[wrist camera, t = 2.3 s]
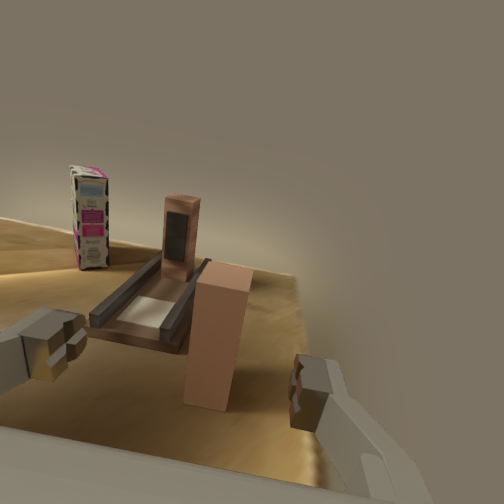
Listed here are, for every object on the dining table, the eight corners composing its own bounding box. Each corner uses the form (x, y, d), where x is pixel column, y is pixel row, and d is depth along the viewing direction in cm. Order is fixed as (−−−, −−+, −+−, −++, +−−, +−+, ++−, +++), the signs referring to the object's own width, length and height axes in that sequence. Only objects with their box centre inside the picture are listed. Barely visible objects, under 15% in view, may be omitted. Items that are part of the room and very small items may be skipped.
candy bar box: (111, 268, 49) (109, 177, 43) (79, 271, 46) (72, 174, 40) (101, 245, 57) (99, 166, 51) (73, 247, 54) (67, 163, 48)
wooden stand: (81, 335, 33) (72, 213, 27) (156, 264, 53) (160, 187, 48) (176, 354, 32) (187, 235, 27) (214, 276, 53) (225, 199, 47)
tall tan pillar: (182, 403, 27) (196, 281, 22) (196, 366, 31) (210, 258, 26) (225, 412, 27) (249, 292, 22) (233, 373, 31) (253, 267, 26)
